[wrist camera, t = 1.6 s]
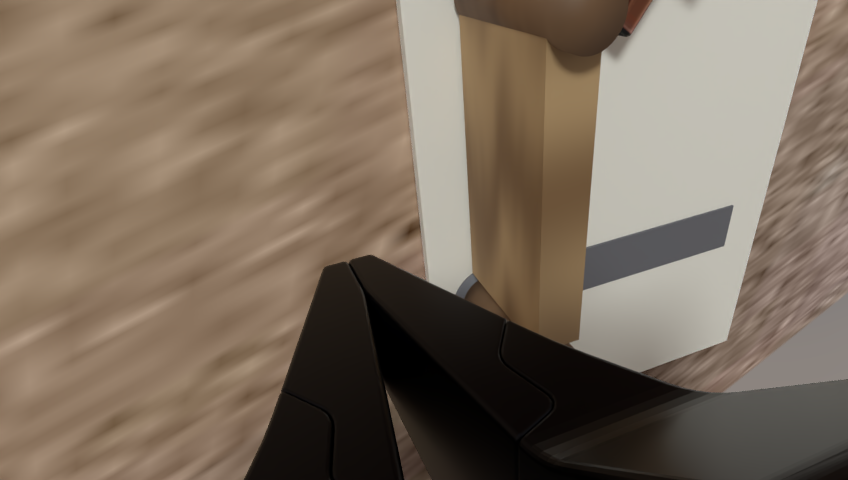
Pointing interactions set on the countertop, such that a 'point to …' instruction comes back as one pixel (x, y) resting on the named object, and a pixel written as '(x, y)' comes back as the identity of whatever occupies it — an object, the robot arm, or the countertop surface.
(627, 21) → the decorative fence
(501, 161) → the gate panel
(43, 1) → the countertop surface
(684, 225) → the card
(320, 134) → the countertop surface
